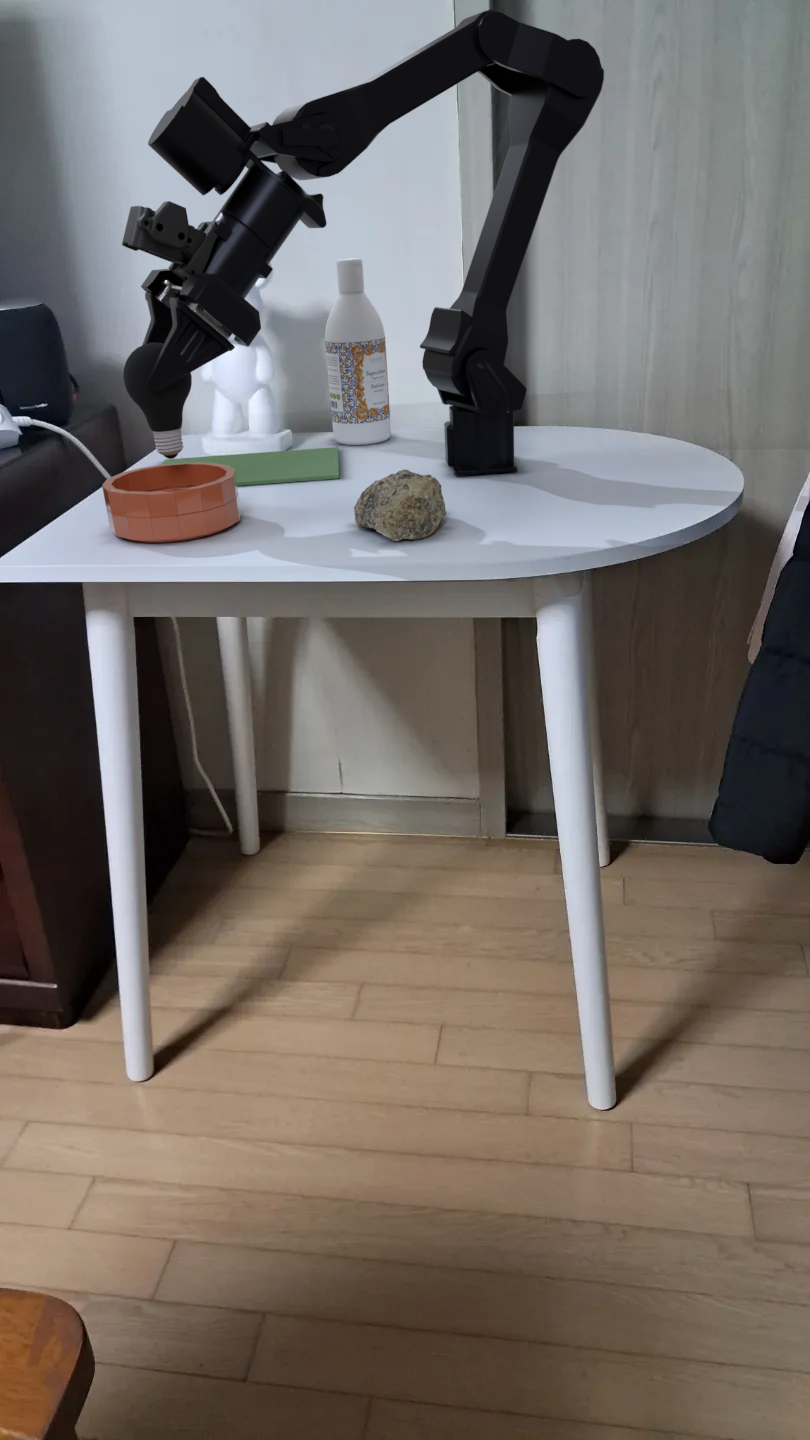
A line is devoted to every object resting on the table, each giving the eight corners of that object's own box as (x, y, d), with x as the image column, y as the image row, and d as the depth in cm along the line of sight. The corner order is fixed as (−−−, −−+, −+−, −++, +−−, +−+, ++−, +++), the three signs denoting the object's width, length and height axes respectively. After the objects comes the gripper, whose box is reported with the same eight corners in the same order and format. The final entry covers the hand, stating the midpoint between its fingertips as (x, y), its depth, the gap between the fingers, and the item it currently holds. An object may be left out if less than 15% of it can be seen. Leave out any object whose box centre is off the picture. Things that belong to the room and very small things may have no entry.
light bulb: (169, 468, 90) (148, 348, 86) (125, 463, 93) (103, 347, 89) (217, 453, 94) (199, 338, 90) (173, 449, 98) (154, 337, 93)
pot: (245, 505, 100) (239, 458, 98) (235, 539, 89) (228, 488, 87) (124, 514, 99) (116, 467, 97) (101, 549, 89) (91, 498, 87)
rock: (467, 531, 88) (466, 478, 85) (383, 547, 85) (379, 492, 83) (431, 512, 93) (429, 462, 91) (351, 527, 91) (347, 475, 89)
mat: (338, 450, 120) (337, 446, 120) (339, 478, 107) (339, 474, 107) (165, 462, 119) (165, 459, 119) (146, 492, 107) (145, 488, 106)
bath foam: (360, 448, 120) (346, 261, 111) (322, 442, 124) (305, 261, 116) (403, 437, 124) (392, 256, 115) (364, 431, 129) (351, 256, 120)
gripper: (145, 171, 92) (47, 316, 93) (199, 157, 77) (80, 331, 78) (242, 259, 99) (149, 393, 100) (309, 262, 83) (198, 422, 84)
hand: (143, 384), depth 90 cm, fingers closed on light bulb, 6 cm apart
